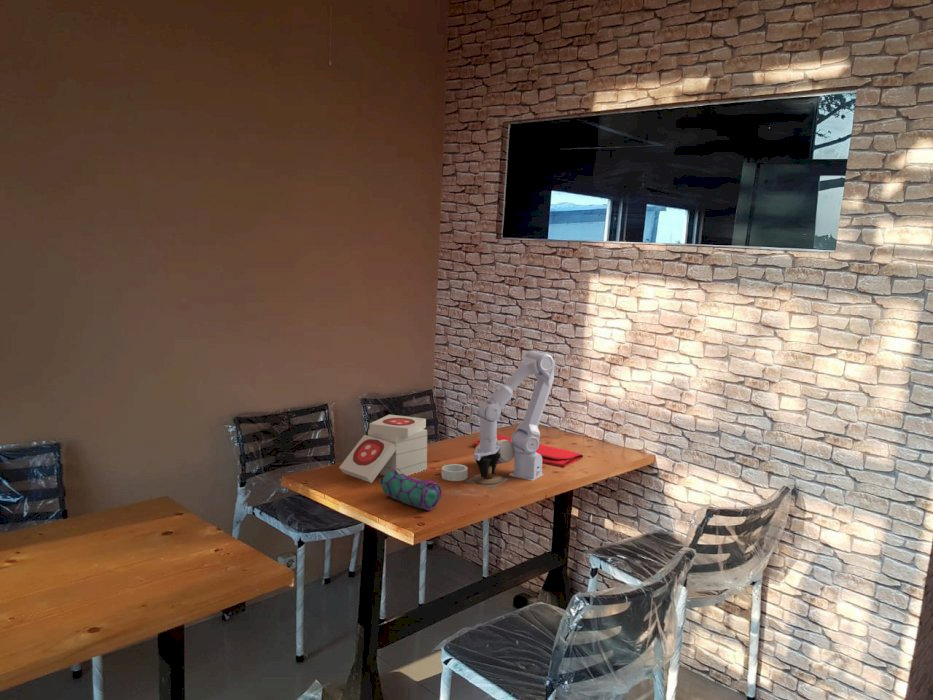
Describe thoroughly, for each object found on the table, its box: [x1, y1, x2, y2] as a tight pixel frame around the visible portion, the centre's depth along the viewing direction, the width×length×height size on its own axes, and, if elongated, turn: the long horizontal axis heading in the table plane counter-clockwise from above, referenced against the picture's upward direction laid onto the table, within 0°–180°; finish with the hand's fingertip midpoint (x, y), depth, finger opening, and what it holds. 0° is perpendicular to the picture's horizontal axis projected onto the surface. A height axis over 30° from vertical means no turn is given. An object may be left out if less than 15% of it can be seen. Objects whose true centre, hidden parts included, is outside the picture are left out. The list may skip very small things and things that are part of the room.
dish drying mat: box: [473, 433, 584, 468], centre depth 284 cm, size 16×41×4 cm, turn 54°
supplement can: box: [473, 440, 515, 465], centre depth 262 cm, size 8×8×15 cm
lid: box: [472, 465, 502, 486], centre depth 250 cm, size 10×10×5 cm
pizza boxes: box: [338, 413, 428, 484], centre depth 255 cm, size 19×30×18 cm, turn 138°
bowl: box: [441, 463, 469, 482], centre depth 253 cm, size 9×9×4 cm
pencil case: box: [378, 468, 442, 512], centre depth 228 cm, size 21×9×10 cm, turn 46°
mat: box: [465, 476, 510, 489], centre depth 250 cm, size 11×11×1 cm
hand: (487, 475), depth 250 cm, fingers open, 4 cm apart
